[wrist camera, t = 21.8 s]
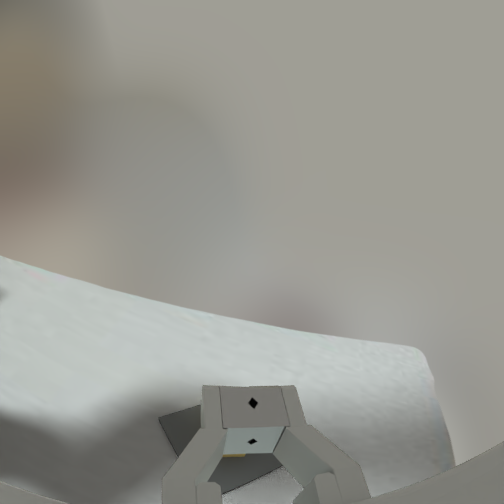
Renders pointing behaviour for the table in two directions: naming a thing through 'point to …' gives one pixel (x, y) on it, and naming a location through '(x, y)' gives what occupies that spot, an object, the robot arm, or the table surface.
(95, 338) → the table surface
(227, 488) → the mat
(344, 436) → the table surface
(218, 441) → the robot arm
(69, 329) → the table surface
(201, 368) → the table surface
